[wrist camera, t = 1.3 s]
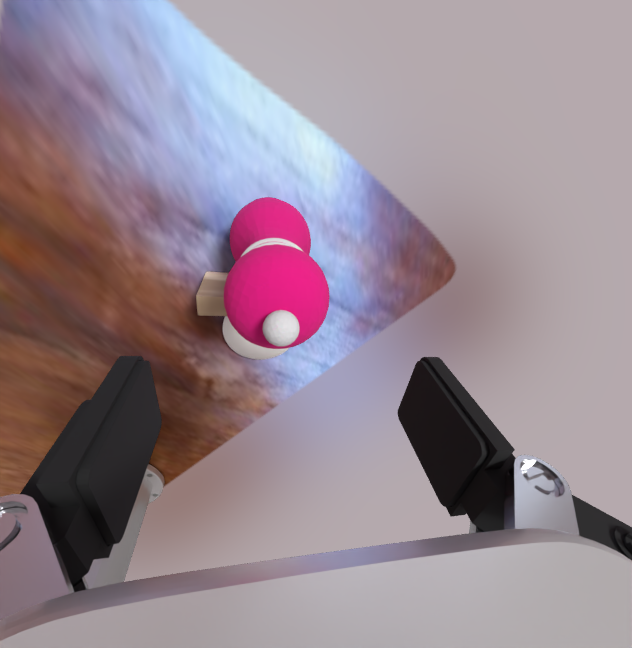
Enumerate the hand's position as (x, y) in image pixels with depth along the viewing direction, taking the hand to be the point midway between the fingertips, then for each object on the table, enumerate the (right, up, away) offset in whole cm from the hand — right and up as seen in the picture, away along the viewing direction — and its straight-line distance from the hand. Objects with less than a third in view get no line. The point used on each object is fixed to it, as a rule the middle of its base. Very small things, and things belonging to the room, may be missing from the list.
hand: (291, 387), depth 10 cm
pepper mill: (-4, +12, +20) cm, 24 cm away
